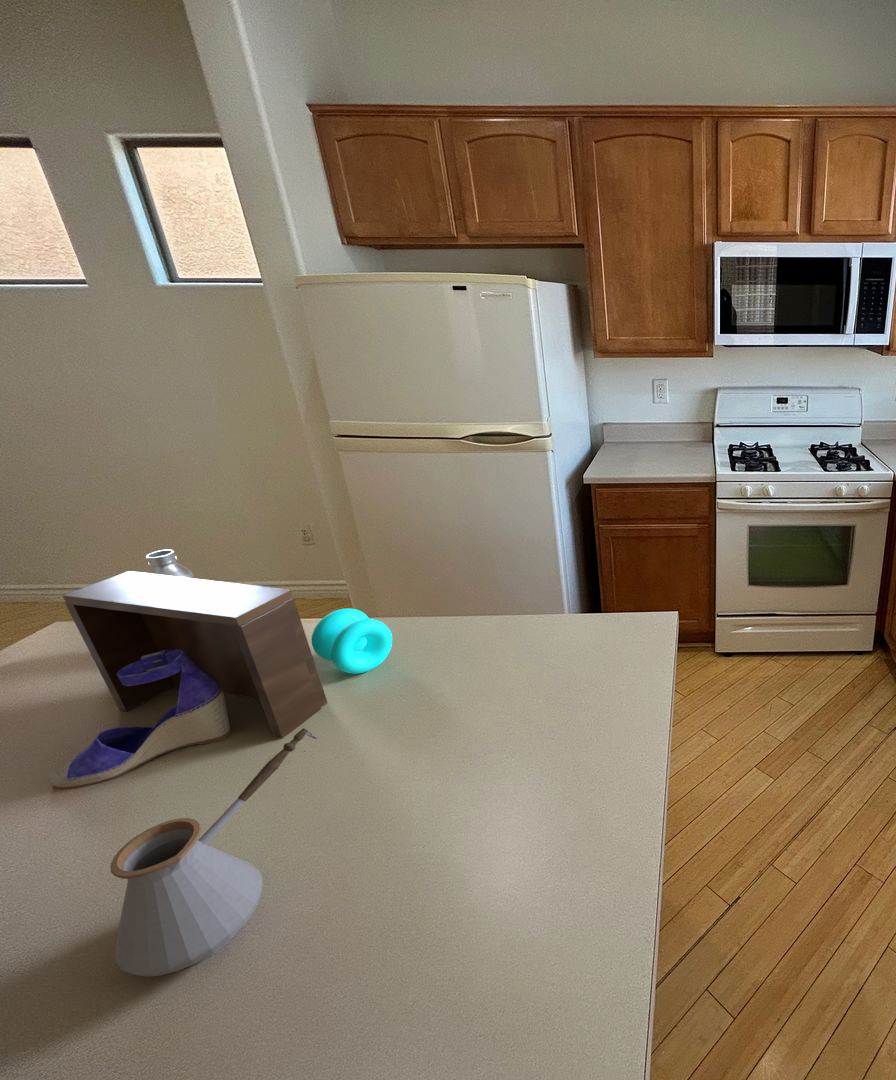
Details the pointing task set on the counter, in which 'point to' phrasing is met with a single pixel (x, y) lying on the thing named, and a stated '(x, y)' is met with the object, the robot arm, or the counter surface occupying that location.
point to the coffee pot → (185, 890)
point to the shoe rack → (202, 639)
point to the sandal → (181, 726)
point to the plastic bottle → (167, 564)
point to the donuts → (352, 640)
